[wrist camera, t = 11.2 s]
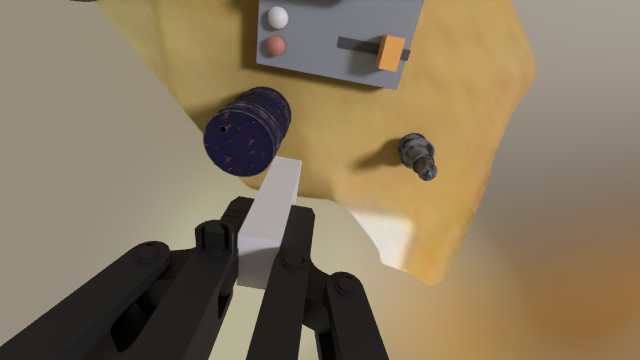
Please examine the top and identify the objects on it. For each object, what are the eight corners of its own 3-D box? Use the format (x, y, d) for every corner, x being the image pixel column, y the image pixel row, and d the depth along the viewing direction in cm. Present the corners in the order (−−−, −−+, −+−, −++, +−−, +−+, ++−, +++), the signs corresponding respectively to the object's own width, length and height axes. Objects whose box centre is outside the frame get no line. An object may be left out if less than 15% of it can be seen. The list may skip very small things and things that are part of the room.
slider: (375, 64, 40) (378, 68, 36) (382, 34, 38) (387, 35, 34) (391, 67, 40) (395, 71, 36) (399, 37, 38) (405, 38, 34)
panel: (262, 60, 45) (253, 64, 40) (270, -87, 36) (260, -104, 31) (393, 85, 45) (399, 92, 41) (434, -53, 36) (448, -64, 32)
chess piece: (390, 153, 52) (403, 185, 41) (407, 126, 49) (426, 154, 38) (416, 165, 52) (436, 199, 42) (435, 139, 50) (460, 170, 39)
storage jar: (303, 120, 49) (290, 154, 36) (264, 148, 53) (239, 189, 40) (266, 73, 46) (237, 93, 33) (227, 107, 49) (186, 137, 36)
